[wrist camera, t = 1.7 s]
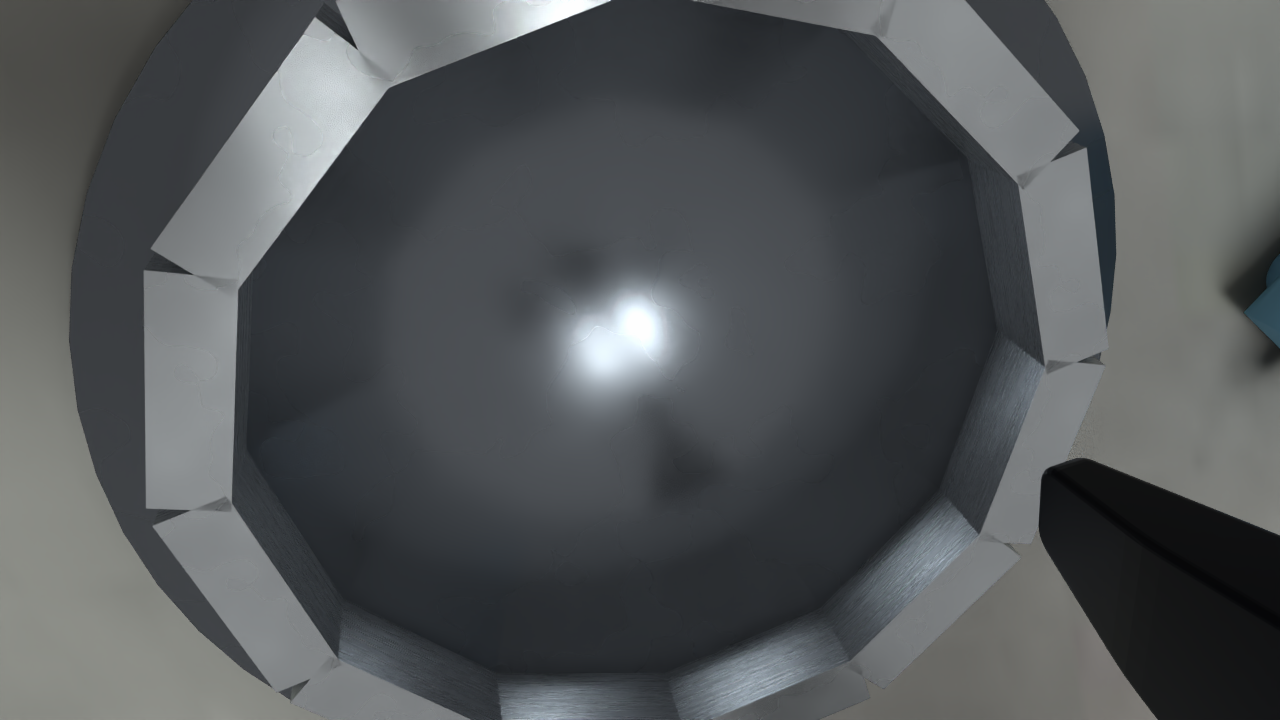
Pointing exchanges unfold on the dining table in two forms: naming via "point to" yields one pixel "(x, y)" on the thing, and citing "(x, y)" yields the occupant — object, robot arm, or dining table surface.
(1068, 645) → the dining table surface
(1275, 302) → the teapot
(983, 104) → the grey round dish
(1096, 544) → the robot arm
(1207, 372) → the dining table surface
